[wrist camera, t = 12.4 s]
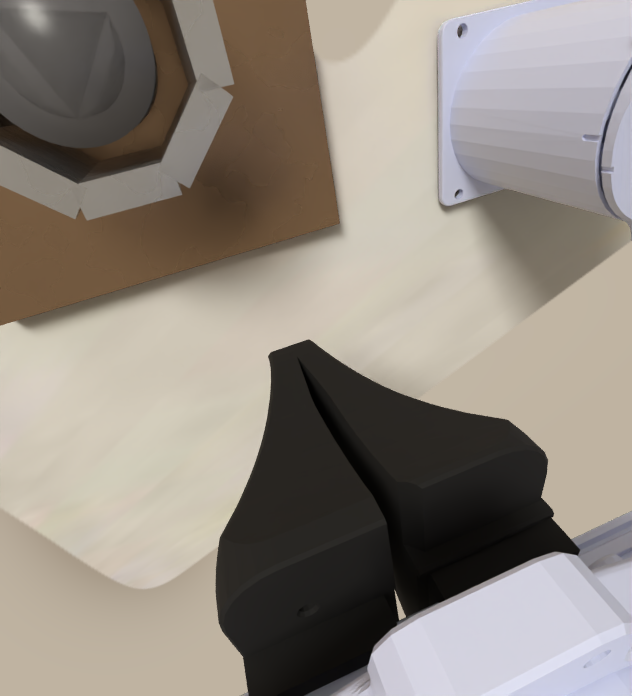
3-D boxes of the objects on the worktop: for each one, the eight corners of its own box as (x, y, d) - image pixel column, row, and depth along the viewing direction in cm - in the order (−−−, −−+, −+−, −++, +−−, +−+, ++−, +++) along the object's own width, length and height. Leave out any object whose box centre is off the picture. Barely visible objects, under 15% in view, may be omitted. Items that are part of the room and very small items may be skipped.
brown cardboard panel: (242, -335, 11) (301, -654, 7) (332, 218, 21) (384, 256, 16) (-445, -288, 9) (-1156, -735, 4) (6, 315, 18) (-50, 394, 13)
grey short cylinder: (117, -38, 13) (95, -101, 9) (179, 114, 15) (183, 119, 11) (-21, 0, 12) (-112, -47, 8) (66, 151, 15) (29, 170, 11)
